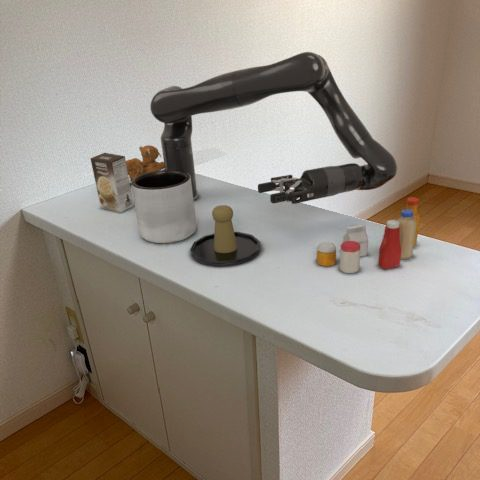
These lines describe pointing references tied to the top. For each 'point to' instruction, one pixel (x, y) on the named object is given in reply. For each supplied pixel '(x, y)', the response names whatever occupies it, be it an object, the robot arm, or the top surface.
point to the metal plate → (208, 256)
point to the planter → (164, 206)
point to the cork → (224, 229)
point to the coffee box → (112, 182)
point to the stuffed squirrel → (144, 162)
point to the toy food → (392, 247)
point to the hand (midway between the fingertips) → (264, 193)
